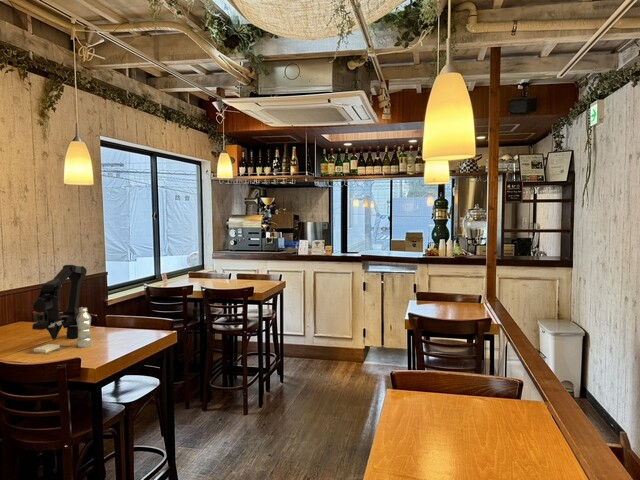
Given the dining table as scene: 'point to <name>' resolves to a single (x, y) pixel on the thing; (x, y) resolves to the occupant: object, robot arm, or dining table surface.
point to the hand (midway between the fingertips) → (54, 339)
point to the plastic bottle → (84, 328)
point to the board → (49, 351)
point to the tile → (46, 348)
